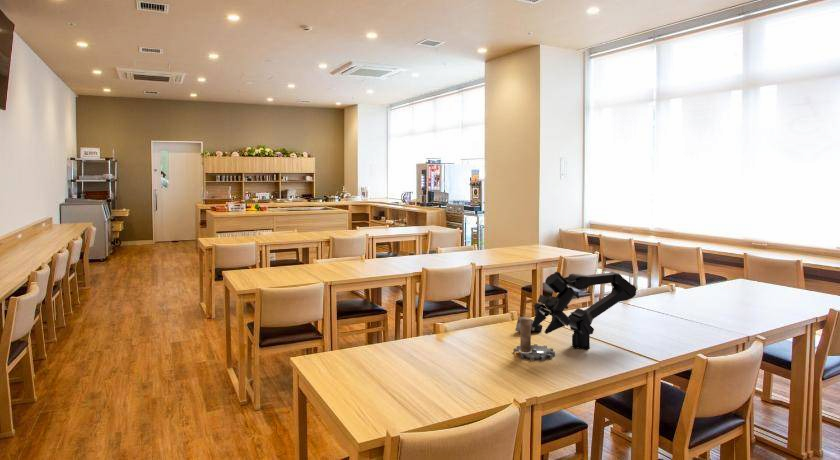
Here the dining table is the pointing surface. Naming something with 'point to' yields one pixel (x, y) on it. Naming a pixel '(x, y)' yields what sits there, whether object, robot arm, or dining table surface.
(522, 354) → the sprocket plate
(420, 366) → the dining table surface
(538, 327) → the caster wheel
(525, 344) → the brown cylinder
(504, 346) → the dining table surface
